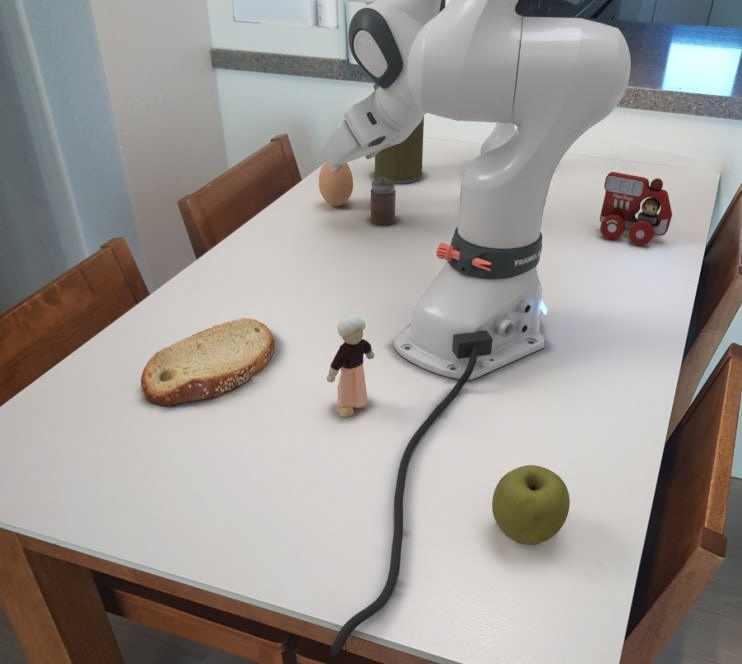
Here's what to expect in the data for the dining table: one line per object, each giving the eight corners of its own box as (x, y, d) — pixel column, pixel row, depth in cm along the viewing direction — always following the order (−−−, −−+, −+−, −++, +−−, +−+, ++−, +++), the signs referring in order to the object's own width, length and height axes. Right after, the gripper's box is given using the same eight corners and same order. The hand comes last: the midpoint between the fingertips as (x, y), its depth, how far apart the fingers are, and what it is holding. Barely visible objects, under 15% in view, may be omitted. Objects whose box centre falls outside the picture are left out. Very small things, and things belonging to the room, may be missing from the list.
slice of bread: (272, 328, 110) (270, 304, 108) (282, 396, 97) (280, 371, 95) (147, 339, 108) (142, 315, 106) (140, 410, 95) (134, 385, 92)
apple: (480, 548, 76) (487, 496, 72) (498, 499, 82) (506, 448, 77) (554, 568, 74) (566, 515, 70) (568, 516, 80) (580, 464, 75)
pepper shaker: (384, 227, 138) (384, 183, 133) (365, 221, 141) (365, 177, 135) (400, 220, 141) (401, 176, 135) (381, 214, 143) (382, 171, 138)
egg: (313, 208, 145) (311, 159, 139) (329, 197, 150) (327, 148, 144) (344, 213, 143) (342, 164, 137) (359, 202, 148) (358, 153, 142)
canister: (423, 184, 155) (428, 76, 142) (373, 184, 155) (373, 76, 142) (421, 166, 163) (425, 62, 150) (374, 166, 163) (373, 62, 150)
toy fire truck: (659, 250, 130) (675, 189, 124) (589, 236, 135) (601, 176, 128) (668, 236, 135) (684, 177, 128) (601, 223, 140) (613, 165, 133)
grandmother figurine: (349, 425, 92) (347, 333, 84) (324, 416, 94) (319, 324, 85) (382, 395, 97) (383, 306, 89) (357, 387, 99) (356, 298, 90)
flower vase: (544, 180, 157) (565, 43, 140) (457, 173, 160) (467, 38, 143) (548, 161, 166) (568, 30, 149) (465, 154, 169) (476, 25, 153)
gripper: (419, 86, 133) (378, 133, 145) (340, 111, 122) (302, 160, 133) (438, 118, 134) (395, 162, 145) (360, 145, 123) (321, 191, 134)
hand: (350, 161), depth 139 cm, fingers open, 8 cm apart
